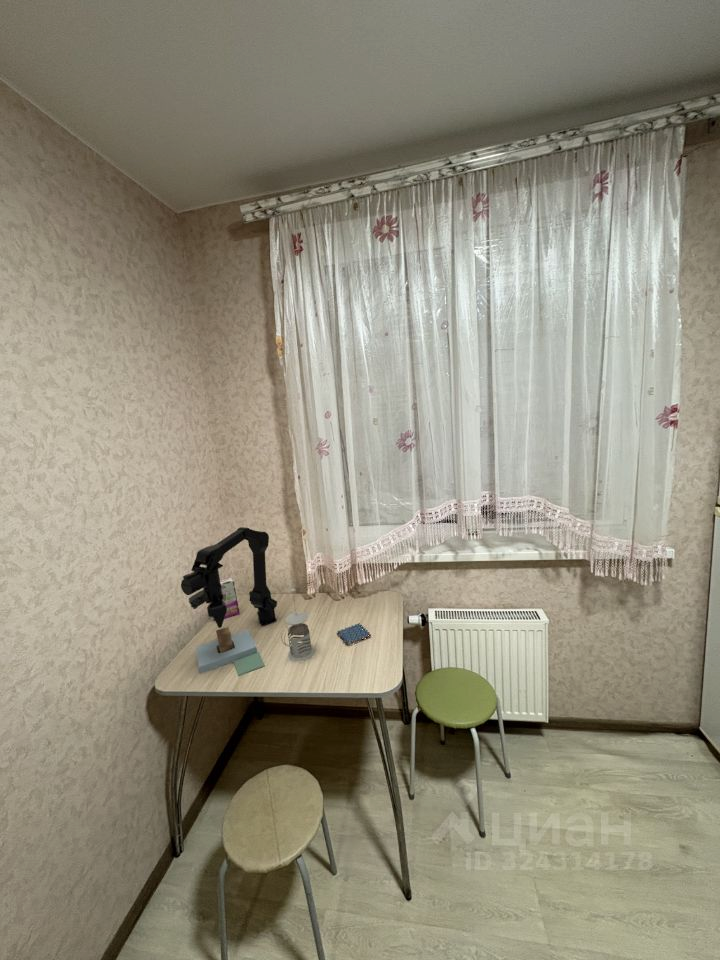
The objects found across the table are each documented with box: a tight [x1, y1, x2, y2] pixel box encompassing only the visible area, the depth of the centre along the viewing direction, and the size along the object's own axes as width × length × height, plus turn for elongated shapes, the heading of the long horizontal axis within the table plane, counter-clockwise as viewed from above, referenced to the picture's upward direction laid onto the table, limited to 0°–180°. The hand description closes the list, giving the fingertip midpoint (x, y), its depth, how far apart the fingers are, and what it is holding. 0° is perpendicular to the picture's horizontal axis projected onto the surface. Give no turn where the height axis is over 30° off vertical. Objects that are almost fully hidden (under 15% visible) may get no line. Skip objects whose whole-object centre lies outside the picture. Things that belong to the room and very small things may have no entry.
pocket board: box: [195, 629, 258, 674], centre depth 143 cm, size 20×14×2 cm
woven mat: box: [336, 622, 372, 646], centre depth 146 cm, size 10×11×2 cm
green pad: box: [233, 651, 265, 677], centre depth 135 cm, size 9×9×1 cm
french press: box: [280, 588, 316, 662], centre depth 136 cm, size 10×12×25 cm
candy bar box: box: [212, 576, 240, 622], centre depth 170 cm, size 11×5×16 cm, turn 118°
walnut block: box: [215, 626, 234, 654], centre depth 142 cm, size 4×4×9 cm
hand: (218, 621), depth 141 cm, fingers open, 9 cm apart
